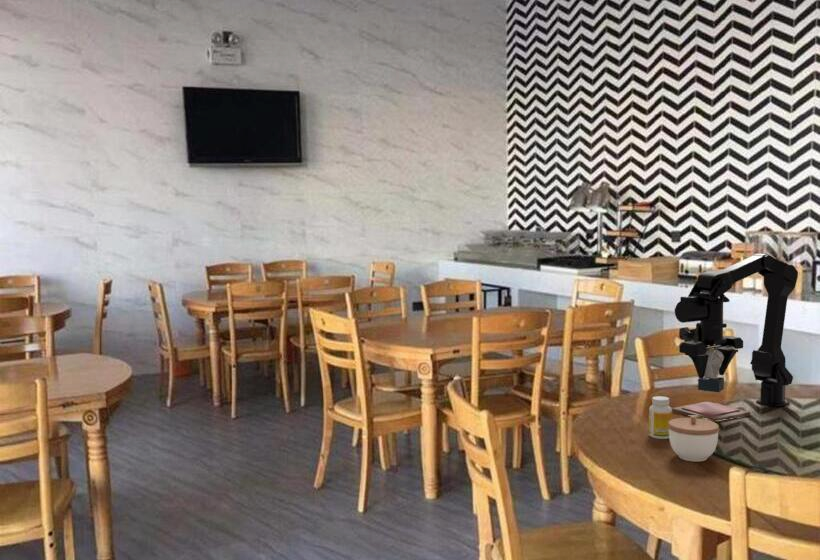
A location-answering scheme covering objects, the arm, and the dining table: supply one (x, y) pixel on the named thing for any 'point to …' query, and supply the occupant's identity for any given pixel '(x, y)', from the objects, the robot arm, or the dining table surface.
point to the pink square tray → (711, 411)
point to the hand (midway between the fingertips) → (711, 376)
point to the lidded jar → (693, 438)
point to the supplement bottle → (659, 417)
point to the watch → (712, 372)
